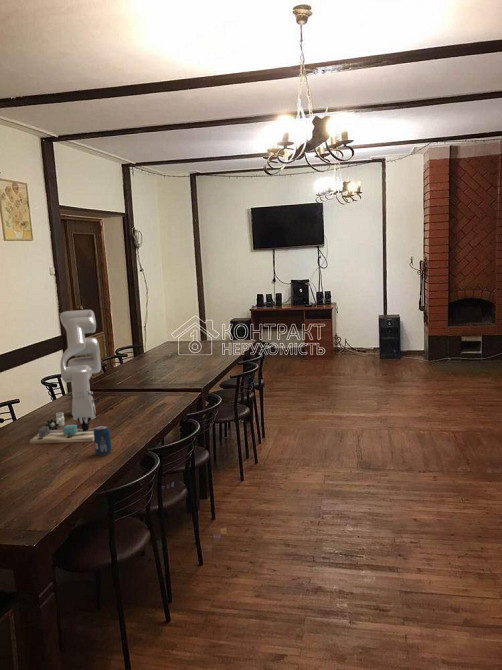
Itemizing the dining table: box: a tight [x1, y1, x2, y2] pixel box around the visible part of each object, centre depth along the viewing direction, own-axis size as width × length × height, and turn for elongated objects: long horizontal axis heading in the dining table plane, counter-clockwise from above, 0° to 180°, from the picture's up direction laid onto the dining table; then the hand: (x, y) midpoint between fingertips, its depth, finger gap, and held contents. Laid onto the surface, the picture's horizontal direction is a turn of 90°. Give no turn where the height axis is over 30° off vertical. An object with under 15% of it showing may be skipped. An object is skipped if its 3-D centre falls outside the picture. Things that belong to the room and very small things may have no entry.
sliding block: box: [62, 424, 78, 437], centre depth 259 cm, size 8×5×4 cm, turn 179°
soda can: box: [93, 424, 112, 456], centre depth 237 cm, size 7×7×12 cm
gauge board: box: [29, 426, 95, 445], centre depth 260 cm, size 12×30×5 cm, turn 89°
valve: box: [45, 411, 66, 430], centre depth 277 cm, size 7×7×12 cm
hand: (85, 430), depth 261 cm, fingers closed
